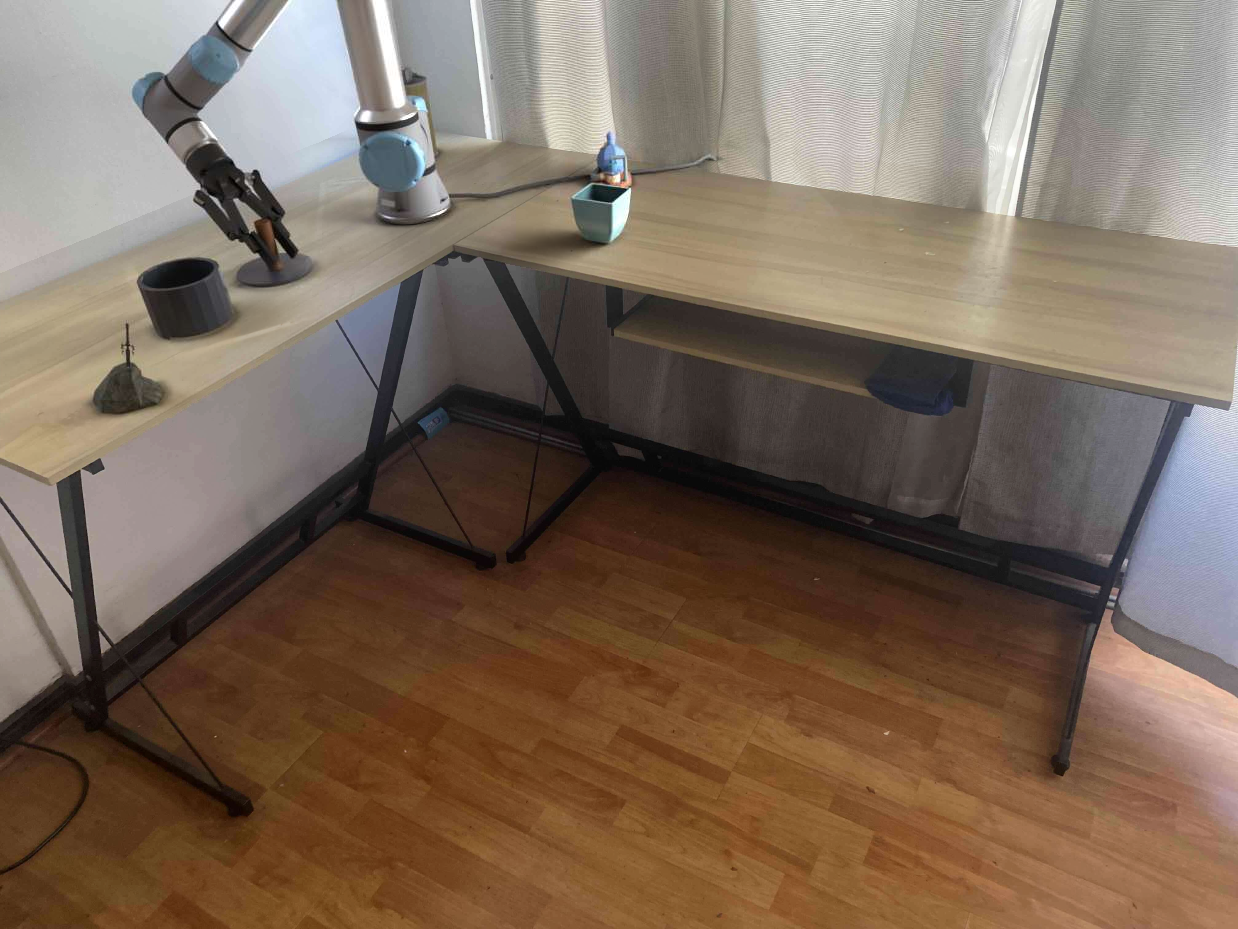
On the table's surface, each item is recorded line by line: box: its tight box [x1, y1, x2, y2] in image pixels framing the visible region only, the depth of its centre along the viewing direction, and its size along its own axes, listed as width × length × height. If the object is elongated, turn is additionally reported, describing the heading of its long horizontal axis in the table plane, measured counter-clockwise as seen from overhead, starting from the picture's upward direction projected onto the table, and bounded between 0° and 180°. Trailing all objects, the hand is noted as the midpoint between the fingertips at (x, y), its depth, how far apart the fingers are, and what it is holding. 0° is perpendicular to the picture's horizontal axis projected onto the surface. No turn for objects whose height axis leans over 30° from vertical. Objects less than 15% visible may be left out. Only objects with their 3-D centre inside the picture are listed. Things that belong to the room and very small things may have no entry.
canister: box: [401, 66, 439, 158], centre depth 218 cm, size 11×10×20 cm
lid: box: [236, 218, 315, 288], centre depth 168 cm, size 14×14×10 cm
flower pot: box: [570, 183, 632, 244], centre depth 175 cm, size 9×9×9 cm
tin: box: [136, 256, 235, 341], centre depth 154 cm, size 13×13×9 cm
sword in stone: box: [92, 322, 164, 414], centre depth 134 cm, size 10×8×12 cm
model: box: [589, 131, 633, 188], centre depth 201 cm, size 12×9×9 cm
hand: (284, 259), depth 167 cm, fingers open, 4 cm apart
